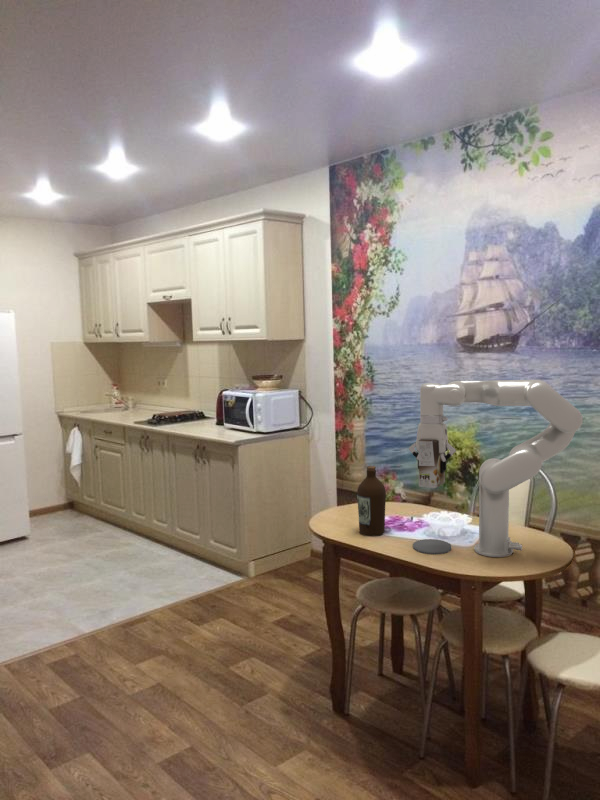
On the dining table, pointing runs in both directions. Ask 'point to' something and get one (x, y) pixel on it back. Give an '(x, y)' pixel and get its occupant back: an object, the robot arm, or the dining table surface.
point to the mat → (432, 546)
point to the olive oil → (371, 504)
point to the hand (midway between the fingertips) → (432, 471)
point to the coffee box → (430, 464)
